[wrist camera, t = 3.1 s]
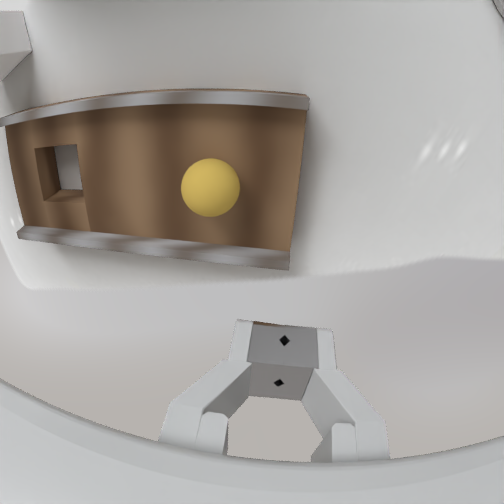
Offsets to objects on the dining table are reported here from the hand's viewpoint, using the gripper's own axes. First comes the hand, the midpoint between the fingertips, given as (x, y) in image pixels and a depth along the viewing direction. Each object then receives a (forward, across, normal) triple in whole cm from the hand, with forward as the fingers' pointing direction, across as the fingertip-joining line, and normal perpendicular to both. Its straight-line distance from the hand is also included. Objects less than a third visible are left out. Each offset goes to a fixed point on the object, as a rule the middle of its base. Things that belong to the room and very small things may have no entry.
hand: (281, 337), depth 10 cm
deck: (+18, +13, 0) cm, 22 cm away
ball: (+13, +5, 0) cm, 14 cm away
